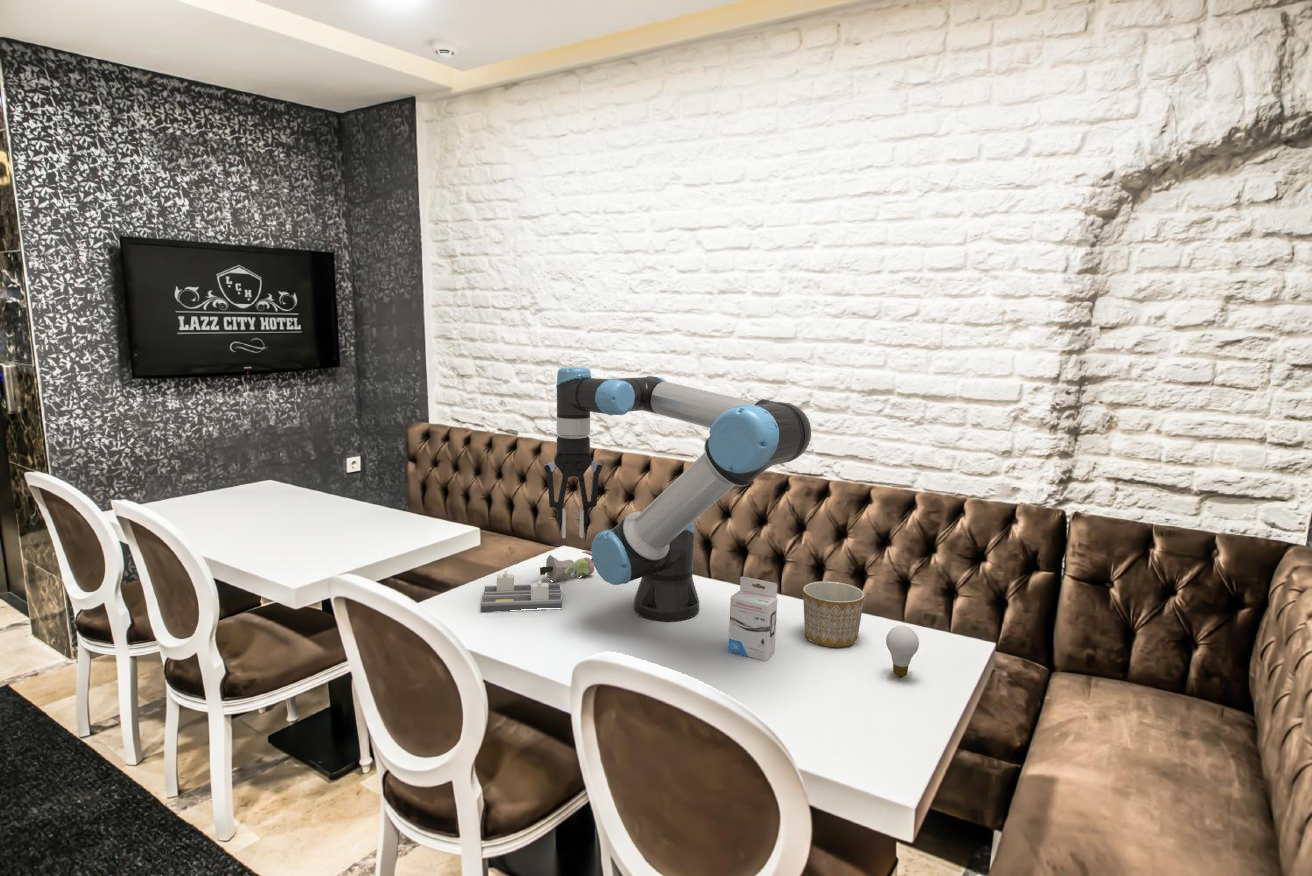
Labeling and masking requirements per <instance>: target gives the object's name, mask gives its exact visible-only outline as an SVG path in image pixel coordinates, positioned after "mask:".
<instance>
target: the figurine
mask: <svg viewBox="0 0 1312 876" xmlns="http://www.w3.org/2000/svg"><path fill="white" fill-rule="evenodd" d="M581 553H583V554H585V555H588V556H591V557H592V551H589V550H587V551H586V550H584V551H582V552H581ZM545 563H546V564H545V566H542V567H541V566H540V567H539V575H540V576H544V575H545V574H546V578H547V579H548V578H549V579H550V580H552V581H554V582H556V581H557V579H558V578H560V577H562V576H563V577H570V576H572V575H574V576H579V577H580V576H584V577H586V576H588V575H589V576H590V575H592V574H593V573H594V571H595V566H594V563H593V560H592V558H589V557H586V556H585V557H583V558H579V559H577V560H575V561H574V560H572V559H565V560H559V559H557V558H556V557H554V556H552V555H551V554H549V555H548V556H547V558H546V562H545Z"/></svg>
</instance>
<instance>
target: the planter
mask: <svg viewBox="0 0 1312 876" xmlns="http://www.w3.org/2000/svg"><path fill="white" fill-rule="evenodd" d="M802 596H803V599H802V600H803V601H802V602H803V618H804V619H803V620H804V621H803V623H804V634H805V636H806V638H807V639H809V641H810V642H813V643H815V644H817V645H820V646H823V647H828V648H846V647H849V646H850V647H851V646H852V645H854V644H855V642H857V641H858V637H859V632H860V631H859V630H860V625H861V621H862V614H863V607H864V606H863V605H864V600H865V592H864V591H863V590H862V589H860V588H858V587H857V586H854V585H853V584H852V585H851V584H847V583H843V582H837V581H829V580H828V581H827V580H826V581H825V580H824V581H823V580H822V581H814V582H811V583H808V584H805V585H804V586H803V588H802Z"/></svg>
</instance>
